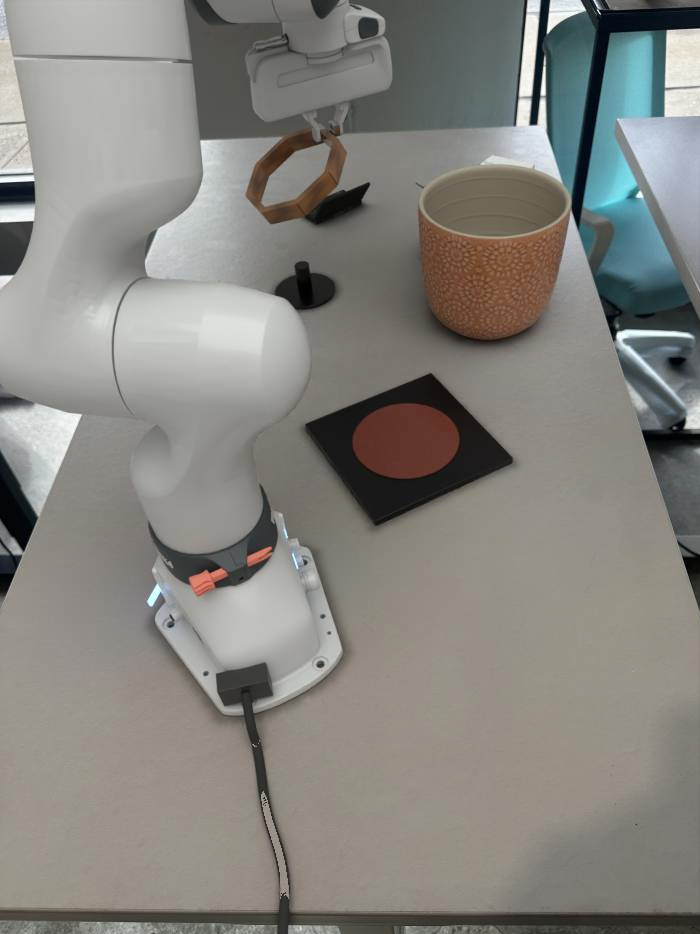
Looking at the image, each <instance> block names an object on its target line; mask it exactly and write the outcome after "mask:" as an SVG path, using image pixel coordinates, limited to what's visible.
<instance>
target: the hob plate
mask: <svg viewBox="0 0 700 934" xmlns="http://www.w3.org/2000/svg"><path fill="white" fill-rule="evenodd" d="M304 426H305V430H306V431H307V432H308V434H309V436H310V437H311V438H312V440H313V441H314V442H315V443H316V445H317V446H318V448H319V449H320V450H321V452H322V453H323V455H324V456H325V458H326V459H327V460H328V461H329V463H330V464H331V466H332V467H333V468H334V470H335V472H336V473H337V474H338V476H339V478H341V479H342V481H343V482H344V484H345V485H346V487H347V488H348V489H349V491H350V492H351V493H352V495H353V497H354V498H355V499H356V501H357V502H358V503H359V505H360V506H361V507H362V509H363V510H364V511H365V513H366V514H367V515H368V518H370V520H371V521H372V523H373V524H374V526H379V525H381V524H383V523H387V522H388V521H390V520H392V519H394V518H396V517H399V516H400V515H403V514H405V513H408V512H410V511H411V510H414V509H417V508H418V507H420V506H423V505H425V504H427V503H429V502H431V501H433V500H436V499H437V498H439V497H442V496H444V495H446V494H448V493H450V492H453V491H455V490H457V489H459V488H462V487H464V486H465V485H467V484H471V483H472V482H474V481H476V480H480V479H482V478H483V477H485V476H487V475H489V474H492V473H494V472H496V471H498V470H500V469H502V468H504V467H507V466H508V465H511V464H513V462H514V457H513V456H512V455H511V454H510V453H509V452H508V451H507V450H506V449H505V448H504V447H503V446H502V445H501V444H500V443H499V441H498V440H496V438H495V437H494V436H493V435H492V434H491V433H490V432H489V431H488V430H487V429H486V428H485V427H484V425H482V424H481V423H480V422H479V420H477V419H476V418H475V417H474V416H473V414H471V413H470V411H469V410H468V409H467V408H466V407H464V405H463V404H462V403H461V402H460V401H459V400H458V399H457V398H456V397H455V396H454V395H453V394H452V393H451V392H450V390H448V388H446V387H445V386H444V385H443V383H442V382H440V380H438V378H436V376H435V374H433V373H432V372H430V373H428V374H424V375H422V376H420V377H418V378H415V379H412V380H410V381H408V382H405V383H402V384H400V385H398V386H396V387H393V388H390V389H388V390H385V391H383V392H380V393H378V394H376V395H373V396H371V397H368V398H366V399H363V400H360V401H358V402H355V403H353V404H351V405H348V406H346V407H343V408H341V409H338V410H335V411H334V412H330V413H328V414H326V415H323V416H321V417H319V418H316V419H313V420H311V421H309V422H305V425H304Z"/></svg>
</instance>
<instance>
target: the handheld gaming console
mask: <svg viewBox="0 0 700 934" xmlns="http://www.w3.org/2000/svg"><path fill="white" fill-rule="evenodd" d="M370 186H371V182H370V181H368V182H364V183H362V184H361V185H358V186H356V187H354V188H351V189H349V190H345V189H341V190H338V191H336V192H334V193H330V194H329V195H328V196H327V197H326V198H325V199H324V200H322V201H321V202H320V203H319V204H318V205H317V206H316V207H315V208H314V209H313V210H312V211H311V212H310V213H309V214H308V215H305V217H304V218H305V219H307V220H309V221H310V222H311V223H313V224H314V225H318V224H322V223H323V222H325V221H328V220H330V219H332V218H335V216H338V215H340V214H343V213H346V212H348V211H351V210H352V209H355V208H358V207H360V206H362V205H363V199H364V197H365V195H366V193H367V192H368V190H369V188H370Z"/></svg>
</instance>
